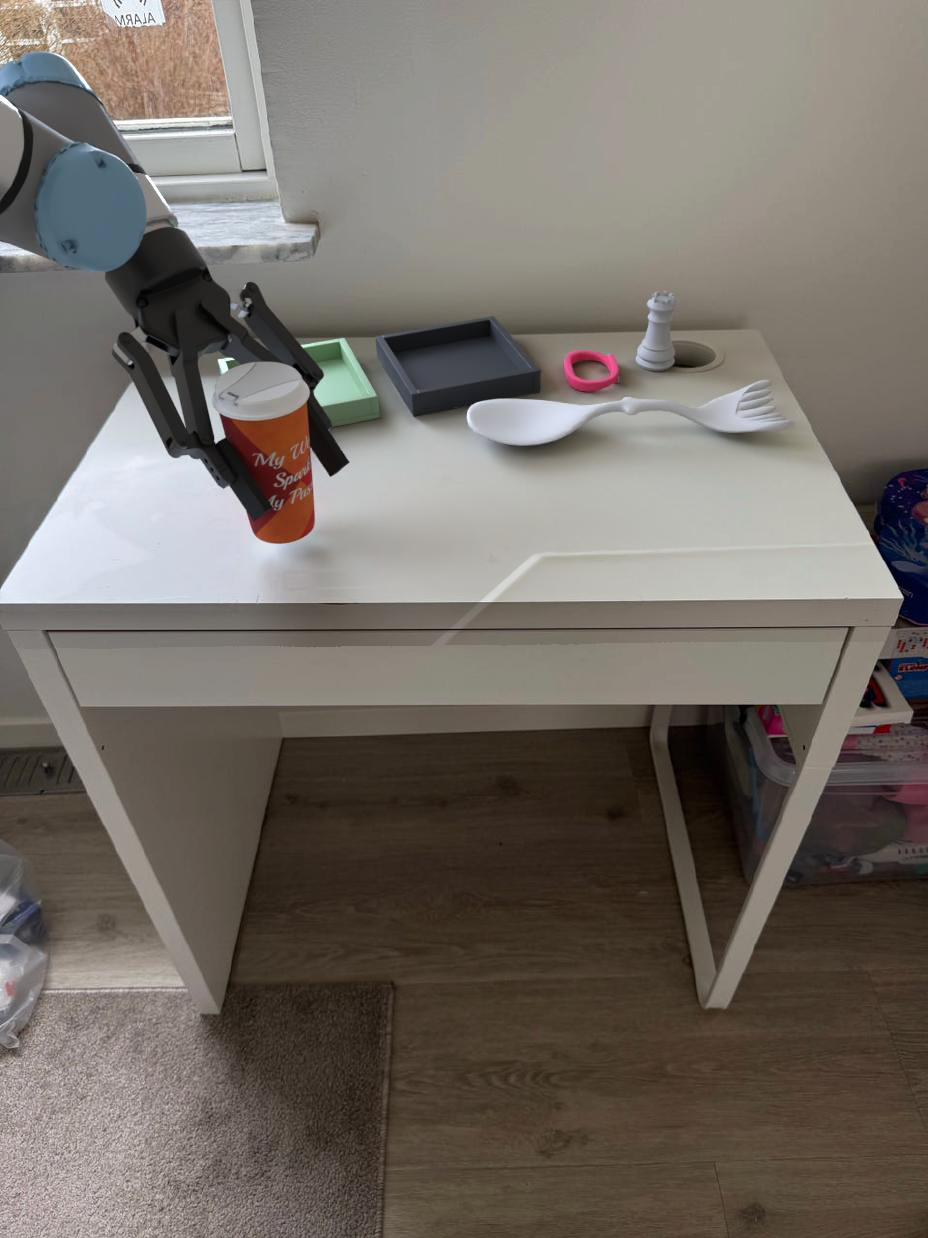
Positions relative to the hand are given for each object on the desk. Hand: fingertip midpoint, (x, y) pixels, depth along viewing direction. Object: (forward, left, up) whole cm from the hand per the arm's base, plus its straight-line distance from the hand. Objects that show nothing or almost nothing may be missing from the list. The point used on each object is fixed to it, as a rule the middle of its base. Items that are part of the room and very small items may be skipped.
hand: (302, 491), depth 79 cm
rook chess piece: (+44, +21, -7) cm, 50 cm away
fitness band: (+36, +21, -7) cm, 43 cm away
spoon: (+34, +9, -7) cm, 36 cm away
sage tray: (+4, +28, -7) cm, 29 cm away
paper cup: (-2, +3, -5) cm, 6 cm away
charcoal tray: (+22, +27, -7) cm, 36 cm away
